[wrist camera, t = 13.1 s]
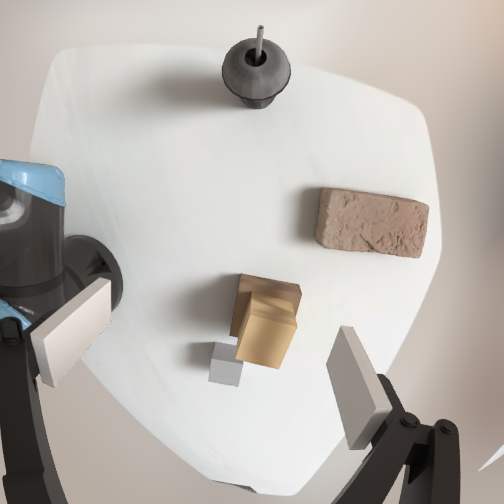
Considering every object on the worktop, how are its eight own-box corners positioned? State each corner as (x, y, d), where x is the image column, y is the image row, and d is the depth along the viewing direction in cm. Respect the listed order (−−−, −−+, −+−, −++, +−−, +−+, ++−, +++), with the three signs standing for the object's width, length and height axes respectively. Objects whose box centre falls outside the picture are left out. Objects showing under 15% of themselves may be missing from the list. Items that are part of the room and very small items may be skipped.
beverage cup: (223, 106, 39) (192, 59, 19) (245, 64, 37) (233, -6, 18) (270, 126, 39) (277, 91, 20) (291, 84, 37) (314, 23, 18)
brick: (313, 241, 44) (319, 250, 40) (320, 185, 42) (327, 187, 37) (409, 250, 44) (422, 259, 40) (417, 200, 42) (432, 204, 37)
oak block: (238, 331, 44) (235, 358, 38) (252, 291, 42) (250, 314, 36) (276, 341, 45) (278, 369, 38) (292, 302, 43) (297, 326, 36)
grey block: (212, 363, 51) (208, 381, 46) (215, 341, 49) (211, 358, 44) (240, 368, 51) (238, 386, 46) (244, 346, 49) (243, 364, 44)
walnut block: (231, 323, 48) (229, 335, 44) (241, 272, 46) (239, 282, 42) (285, 332, 49) (286, 345, 45) (298, 283, 46) (301, 294, 42)
